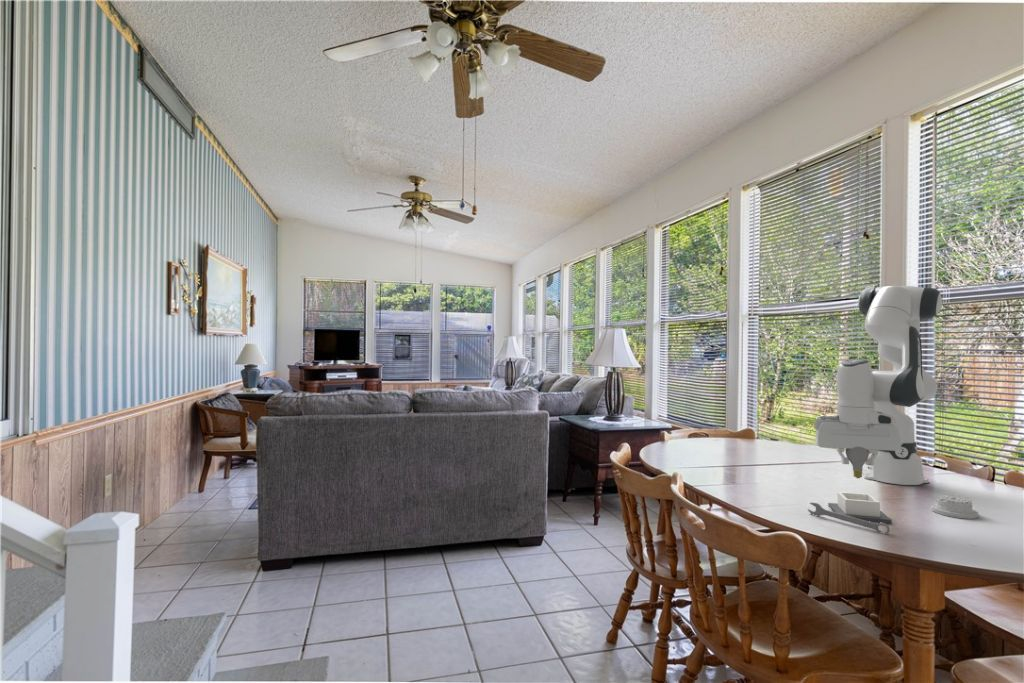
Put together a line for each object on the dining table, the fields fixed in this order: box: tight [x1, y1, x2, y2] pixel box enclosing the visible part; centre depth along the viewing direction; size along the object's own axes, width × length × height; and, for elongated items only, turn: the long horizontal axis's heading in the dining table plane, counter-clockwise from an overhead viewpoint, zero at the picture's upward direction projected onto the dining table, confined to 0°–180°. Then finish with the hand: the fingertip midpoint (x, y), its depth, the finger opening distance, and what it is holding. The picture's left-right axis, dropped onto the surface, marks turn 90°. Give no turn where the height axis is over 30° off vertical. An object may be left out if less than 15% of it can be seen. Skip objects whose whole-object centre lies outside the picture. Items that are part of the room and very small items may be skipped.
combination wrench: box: [807, 502, 891, 535], centre depth 133 cm, size 4×1×20 cm
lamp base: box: [827, 491, 893, 524], centre depth 140 cm, size 12×12×5 cm
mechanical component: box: [931, 494, 979, 520], centre depth 140 cm, size 10×4×10 cm
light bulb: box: [845, 447, 870, 479], centre depth 140 cm, size 5×6×10 cm
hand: (857, 464), depth 140 cm, fingers closed on light bulb, 4 cm apart
